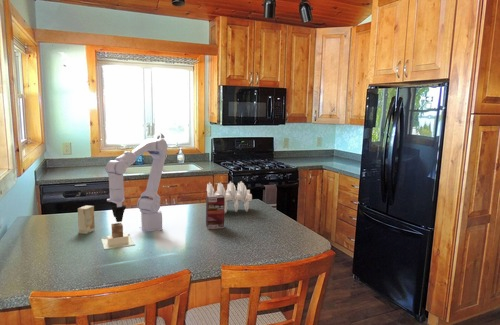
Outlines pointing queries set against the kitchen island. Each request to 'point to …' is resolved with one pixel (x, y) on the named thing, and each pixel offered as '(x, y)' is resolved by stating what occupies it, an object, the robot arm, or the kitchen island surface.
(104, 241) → the plate
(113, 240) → the base brick
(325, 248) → the kitchen island surface
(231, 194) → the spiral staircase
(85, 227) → the skincare box
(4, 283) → the kitchen island surface
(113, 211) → the robot arm
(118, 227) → the walnut brick
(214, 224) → the supplement box
